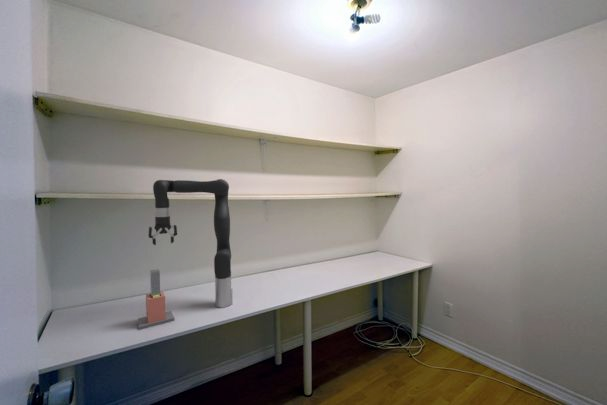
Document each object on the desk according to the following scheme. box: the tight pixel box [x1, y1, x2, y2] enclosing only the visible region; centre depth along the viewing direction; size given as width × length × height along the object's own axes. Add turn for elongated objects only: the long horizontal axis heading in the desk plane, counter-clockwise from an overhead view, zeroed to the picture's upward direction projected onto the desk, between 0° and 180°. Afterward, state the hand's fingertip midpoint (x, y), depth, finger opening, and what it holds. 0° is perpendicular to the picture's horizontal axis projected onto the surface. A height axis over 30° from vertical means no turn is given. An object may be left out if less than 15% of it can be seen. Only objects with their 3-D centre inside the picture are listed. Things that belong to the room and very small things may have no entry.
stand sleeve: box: [137, 290, 175, 331], centre depth 143 cm, size 16×10×15 cm, turn 125°
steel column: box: [149, 268, 161, 298], centre depth 142 cm, size 4×4×18 cm
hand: (163, 244), depth 154 cm, fingers open, 8 cm apart
